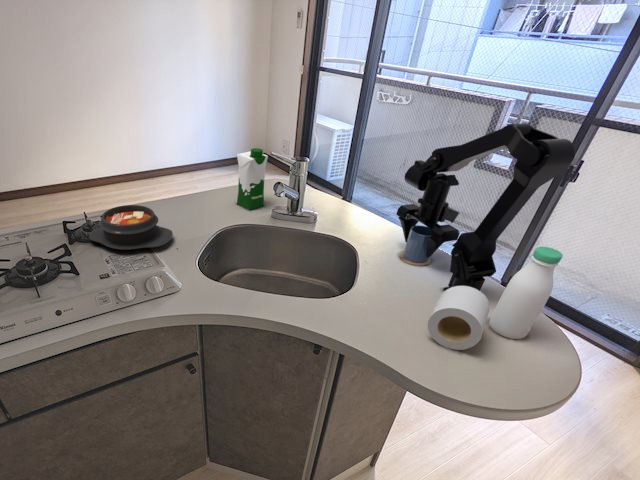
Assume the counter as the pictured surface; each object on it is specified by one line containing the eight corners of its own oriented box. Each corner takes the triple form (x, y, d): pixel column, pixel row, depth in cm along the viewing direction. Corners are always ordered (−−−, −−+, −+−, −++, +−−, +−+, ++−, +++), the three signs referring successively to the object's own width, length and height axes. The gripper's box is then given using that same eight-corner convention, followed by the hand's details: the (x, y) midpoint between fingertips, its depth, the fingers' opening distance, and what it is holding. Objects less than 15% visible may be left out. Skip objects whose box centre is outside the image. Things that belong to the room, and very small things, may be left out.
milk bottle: (524, 345, 85) (572, 265, 73) (485, 330, 89) (524, 252, 77) (528, 327, 90) (574, 249, 78) (491, 314, 94) (529, 238, 82)
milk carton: (249, 211, 139) (251, 153, 127) (233, 203, 145) (233, 147, 133) (267, 206, 144) (271, 149, 132) (251, 198, 149) (253, 143, 137)
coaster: (436, 263, 113) (437, 262, 112) (411, 267, 110) (412, 266, 110) (417, 249, 119) (417, 248, 119) (393, 253, 117) (393, 252, 117)
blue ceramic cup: (412, 264, 111) (421, 237, 106) (398, 253, 116) (405, 226, 111) (439, 260, 113) (449, 233, 108) (423, 249, 118) (432, 223, 114)
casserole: (78, 250, 114) (71, 223, 109) (106, 223, 128) (101, 199, 124) (161, 259, 111) (158, 232, 106) (180, 230, 126) (178, 205, 121)
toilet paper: (432, 315, 93) (447, 279, 87) (479, 331, 88) (497, 295, 82) (421, 337, 86) (436, 301, 80) (471, 357, 82) (490, 319, 76)
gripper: (486, 207, 99) (464, 261, 108) (435, 182, 113) (419, 232, 122) (450, 212, 96) (430, 267, 105) (402, 186, 110) (388, 236, 119)
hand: (417, 249), depth 113 cm, fingers open, 9 cm apart
